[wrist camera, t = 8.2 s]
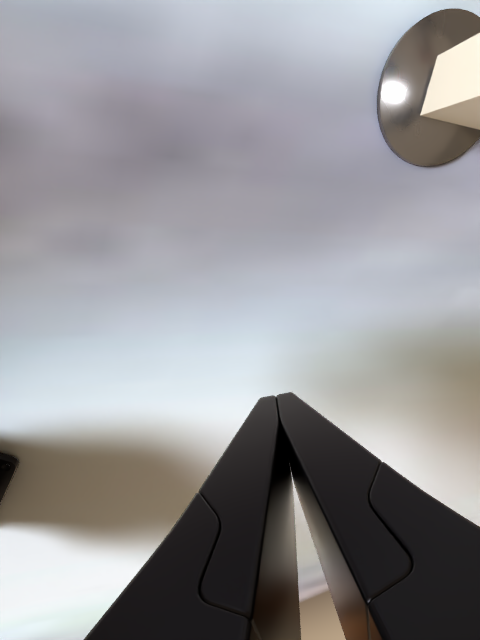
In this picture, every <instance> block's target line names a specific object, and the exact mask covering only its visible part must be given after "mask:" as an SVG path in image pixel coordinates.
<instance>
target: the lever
mask: <svg viewBox="0 0 480 640" xmlns="http://www.w3.org/2000/svg"><path fill="white" fill-rule="evenodd" d="M420 116H424V117H429V118H433V119H437V120H441V121H445V122H450V123H454V124H458V125H462V126H466V127H470V128H475V129H479V130H480V33H478V34H477V35H475V36H473V37H471V38H469V39H467V40H466V41H464V42H462V43H460V44H458V45H456V46H454V47H453V48H451V49H449V50H447V51H445V52H443V53H442V54H440V55H438V56H437V59H436V63H435V66H434V70H433V73H432V76H431V80H430V83H429V85H428V88H427V93H426V97H425V101H424V104H423V107H422V111H421V114H420Z"/></svg>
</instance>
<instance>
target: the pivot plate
mask: <svg viewBox="0 0 480 640" xmlns="http://www.w3.org/2000/svg"><path fill="white" fill-rule="evenodd" d="M478 33H480V17H478V16H477V15H475V14H474V13H472V12H469V11H467V10H462V9H445V10H440V11H437V12H435V13H432V14H430V15H428V16H427V17H425V18H423V19H422V20H420V21H419V22H418V23H416V24H415V25H414V26H412V27H411V28H410V29H409V30H408V31H407V32H406V33H405V34H404V35H403V36H402V37H401V39H400V40H399V41H398V42H397V44H396V45H395V47H394V48H393V50H392V51H391V53H390V55H389V57H388V59H387V61H386V64H385V66H384V69H383V71H382V75H381V78H380V82H379V88H378V95H377V114H378V121H379V125H380V129H381V132H382V134H383V137H384V139H385V141H386V143H387V144H388V146H389V147H390V149H391V150H392V151H393V152H394V153H395V154H396V155H397V156H398V157H400V158H401V159H402V160H404V161H406V162H408V163H410V164H414V165H418V166H433V165H439V164H443V163H446V162H448V161H451V160H453V159H455V158H456V157H458V156H460V155H461V154H462V153H464V152H465V151H466V150H467V149H469V148H470V147H471V146H472V145H473V144H474V143H475V142H476V141H477V139H478V138H479V137H480V130H479V129H475V128H470V127H466V126H462V125H458V124H454V123H450V122H445V121H441V120H437V119H433V118H429V117H424V116H420V114H421V111H422V107H423V104H424V101H425V97H426V93H427V88H428V85H429V83H430V80H431V76H432V73H433V70H434V66H435V63H436V59H437V56H438V55H440V54H442V53H443V52H445V51H447V50H449V49H451V48H453V47H454V46H456V45H458V44H460V43H462V42H464V41H466V40H467V39H469V38H471V37H473V36H475V35H477V34H478Z"/></svg>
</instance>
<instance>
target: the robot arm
mask: <svg viewBox="0 0 480 640" xmlns="http://www.w3.org/2000/svg"><path fill="white" fill-rule="evenodd" d="M289 463H290V464H289ZM6 464H8V465H10V466H8V465H6ZM18 465H19V461H18V459H16V458H15V457H13V456H9V455H6V454H2V453H0V505H1V502H2V500H3V498H4V496H5V494H6V491H7V489H8V487H9V485H10V483H11V480H12V478H13V476H14V474H15V472H16V469H17V467H18ZM290 468H291V469H290ZM291 472H292V475H291ZM292 477H293V481H294V484H295V488H296V491H297V494H298V497H299V500H300V503H301V506H302V509H303V512H304V515H305V518H306V521H307V524H308V527H309V530H310V533H311V536H312V539H313V542H314V545H315V548H316V551H317V554H318V557H319V560H320V563H321V566H322V569H323V572H324V575H325V578H326V581H327V584H328V587H329V590H330V593H331V596H332V599H333V602H334V605H335V608H336V611H337V614H338V617H339V620H340V623H341V626H342V629H343V632H344V635H345V638H346V640H480V527H479V526H477V525H476V524H474V523H473V522H471V521H469V520H468V519H466V518H464V517H463V516H461V515H460V514H458V513H456V512H455V511H453V510H452V509H450V508H449V507H447V506H446V505H444V504H443V503H441V502H440V501H438V500H436V499H435V498H433V497H432V496H430V495H429V494H427V493H426V492H424V491H423V490H421V489H420V488H419V487H417V486H416V485H414V484H413V483H412V482H410V481H409V480H407V479H406V478H405V477H403V476H402V475H400V474H399V473H398V472H396V471H395V470H394V469H392V468H391V467H390V466H388V465H387V464H386V463H384V462H382V461H381V460H380V459H378V458H377V457H376V456H374V455H373V454H372V453H371V452H369V451H368V450H367V449H365V448H364V447H363V446H361V445H360V444H359V443H357V442H356V441H355V440H354V439H352V438H351V437H350V436H348V435H347V434H346V433H344V432H343V431H342V430H340V429H339V428H338V427H337V426H335V425H334V424H333V423H331V422H330V421H329V420H327V419H326V418H325V417H323V416H322V415H321V414H320V413H318V412H317V411H316V410H314V409H313V408H312V407H310V406H309V405H308V404H306V403H305V402H304V401H303V400H301V399H300V398H299V397H297V396H296V395H295V394H293V393H291V392H289V393H283V394H279V395H277V397H275V396H267V397H262V398H260V399H259V400H258V402H257V403H256V405H255V406H254V408H253V409H252V411H251V412H250V414H249V415H248V417H247V418H246V420H245V422H244V423H243V425H242V426H241V428H240V429H239V431H238V432H237V434H236V435H235V437H234V438H233V440H232V441H231V443H230V444H229V446H228V447H227V449H226V450H225V452H224V453H223V455H222V456H221V458H220V459H219V461H218V462H217V464H216V465H215V467H214V468H213V470H212V472H211V473H210V475H209V476H208V478H207V479H206V481H205V482H204V484H203V485H202V487H201V488H200V490H199V493H196V495H195V496H194V498H193V499H192V501H191V502H190V504H189V505H188V507H187V508H186V510H185V511H184V513H183V514H182V515H181V517H180V518H179V520H178V521H177V523H176V524H175V525H174V527H173V528H172V530H171V531H170V532H169V534H168V535H167V536H166V538H165V539H164V540H163V541H162V543H161V544H160V545H159V547H158V548H157V549H156V550H155V552H154V553H153V554H152V556H151V557H150V558H149V559H148V561H147V562H146V563H145V564H144V566H143V567H142V568H141V569H140V571H139V572H138V573H137V574H136V576H135V577H134V578H133V579H132V580H131V582H130V583H129V584H128V585H127V587H126V588H125V589H124V590H123V592H122V593H121V594H120V595H119V597H118V598H117V599H116V600H115V602H114V603H113V604H112V605H111V606H110V608H109V609H108V610H107V611H106V613H105V614H104V615H103V616H102V618H101V619H100V620H99V621H98V623H97V624H96V625H95V626H94V627H93V629H92V630H91V631H90V632H89V634H88V635H87V636H86V637H85V639H84V640H301V628H300V610H299V591H298V572H297V554H296V535H295V516H294V498H293V483H292Z"/></svg>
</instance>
